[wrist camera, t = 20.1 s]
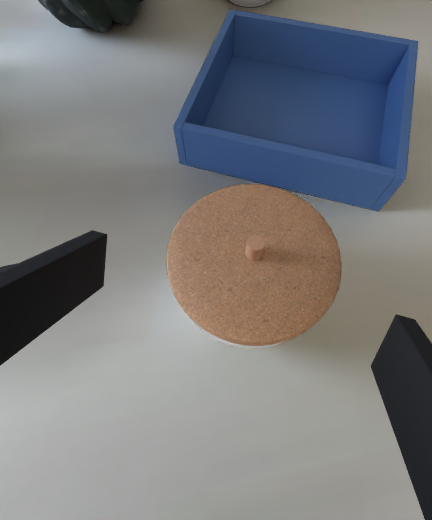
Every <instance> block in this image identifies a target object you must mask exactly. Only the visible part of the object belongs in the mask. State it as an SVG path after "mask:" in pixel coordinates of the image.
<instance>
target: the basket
mask: <svg viewBox="0 0 432 520" xmlns="http://www.w3.org/2000/svg"><path fill="white" fill-rule="evenodd" d="M417 50H418V41H414V40H408V39H402V38H397V37H391V36H385V35H379V34H373V33H367V32H361V31H355V30H350V29H344V28H338V27H332V26H326V25H320V24H314V23H309V22H303V21H297V20H291V19H285V18H279V17H273V16H267V15H262V14H256V13H250V12H244V11H238V10H237V11H236V10H231V9H230V10H229V12H228V14H227V16H226V18H225V20H224V22H223V24H222V27H221V29H220V31H219V33H218V35H217V37H216V39H215V41H214V43H213V45H212V47H211V49H210V51H209V54H208V56H207V58H206V60H205V62H204V64H203V66H202V68H201V70H200V72H199V74H198V76H197V78H196V80H195V83H194V85H193V87H192V89H191V91H190V93H189V95H188V97H187V99H186V101H185V103H184V105H183V107H182V110H181V112H180V114H179V116H178V118H177V120H176V122H175V124H174V133H175V138H176V144H177V150H178V156H179V163H180V164H184V165H188V166H192V167H196V168H200V169H204V170H209V171H213V172H217V173H221V174H225V175H229V176H233V177H238V178H242V179H246V180H250V181H254V182H258V183H263V184H267V185H271V186H275V187H279V188H283V189H287V190H292V191H296V192H300V193H304V194H308V195H312V196H317V197H321V198H325V199H329V200H333V201H337V202H341V203H346V204H350V205H354V206H358V207H362V208H366V209H371V210H375V211H379V210H380V209H381V208H382V207H383V205H384V204H385V203H386V202H387V201H388V199H389V198H390V197H391V196H392V195H393V193H394V192H395V191H396V190H397V189H398V187H399V186H400V185H401V184H402V183H403V181H404V180H405V179H406V171H407V160H408V149H409V138H410V127H411V116H412V105H413V94H414V83H415V72H416V61H417Z"/></svg>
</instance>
